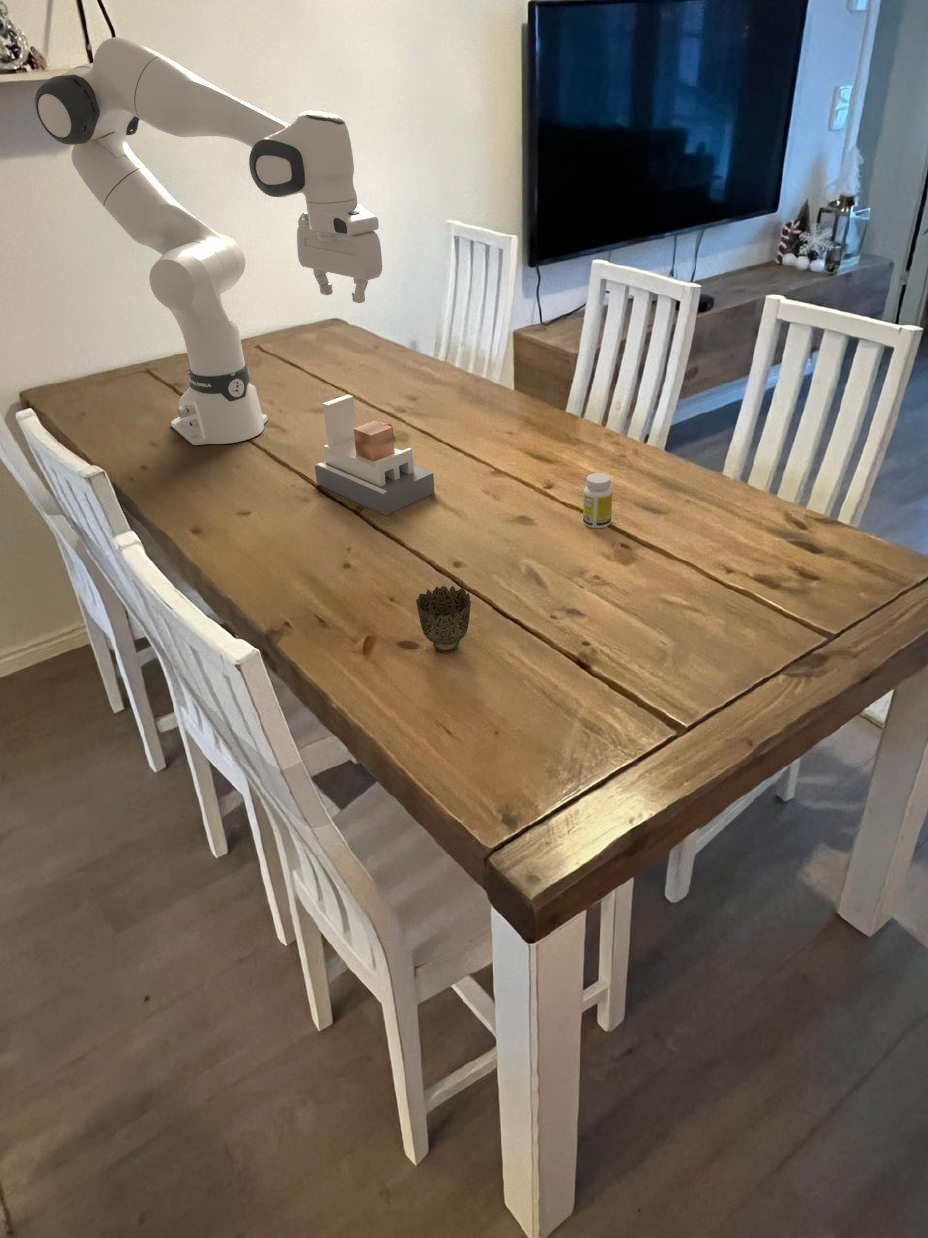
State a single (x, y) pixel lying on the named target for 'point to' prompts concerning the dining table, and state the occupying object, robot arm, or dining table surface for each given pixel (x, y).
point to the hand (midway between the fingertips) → (342, 298)
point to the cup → (444, 616)
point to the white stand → (344, 452)
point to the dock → (377, 487)
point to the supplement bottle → (597, 501)
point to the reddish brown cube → (374, 440)
